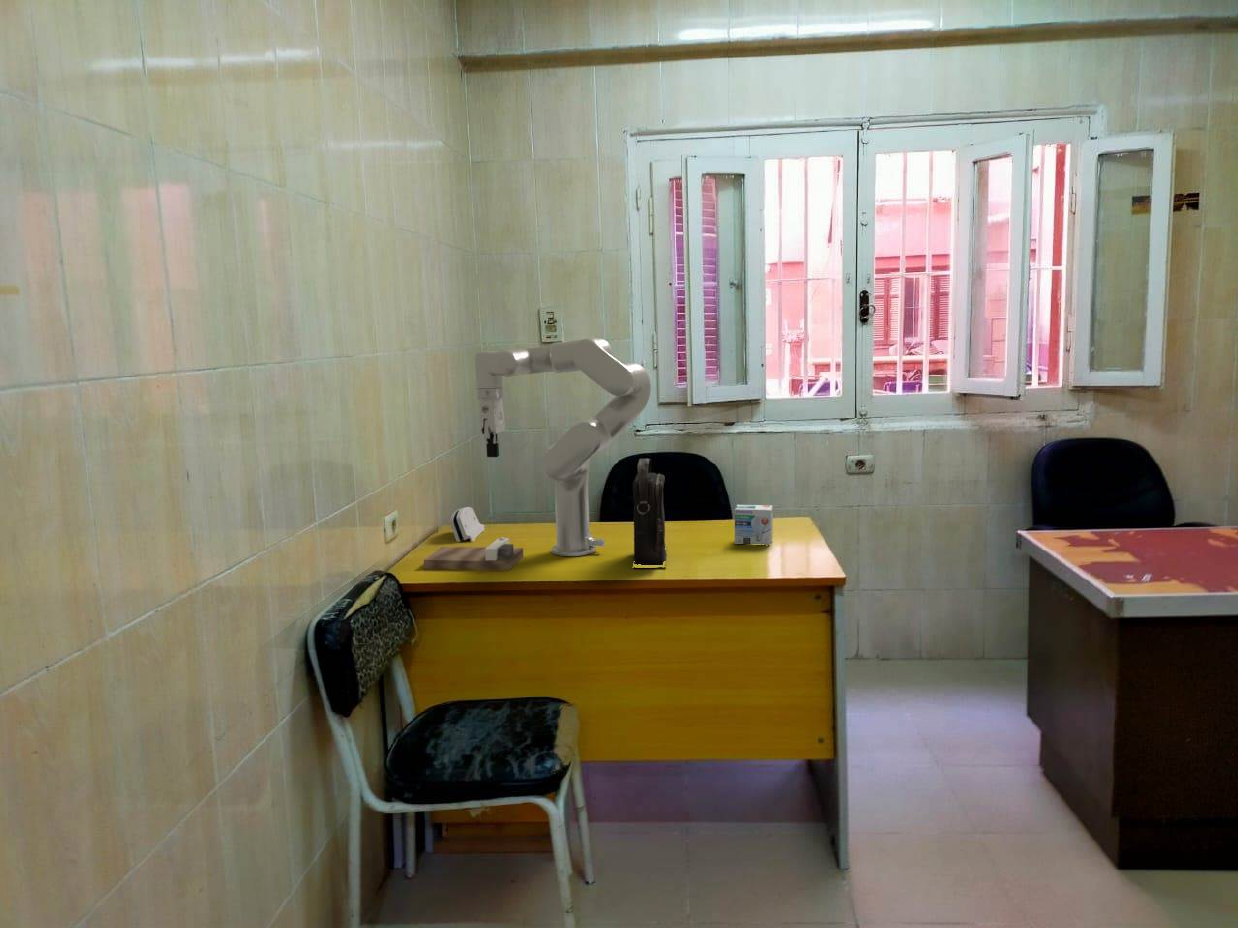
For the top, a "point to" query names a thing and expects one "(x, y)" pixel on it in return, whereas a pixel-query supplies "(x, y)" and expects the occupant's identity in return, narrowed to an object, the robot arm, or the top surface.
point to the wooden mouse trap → (473, 558)
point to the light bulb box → (754, 524)
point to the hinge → (465, 524)
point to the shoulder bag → (648, 516)
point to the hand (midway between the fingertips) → (493, 456)
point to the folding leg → (495, 548)
